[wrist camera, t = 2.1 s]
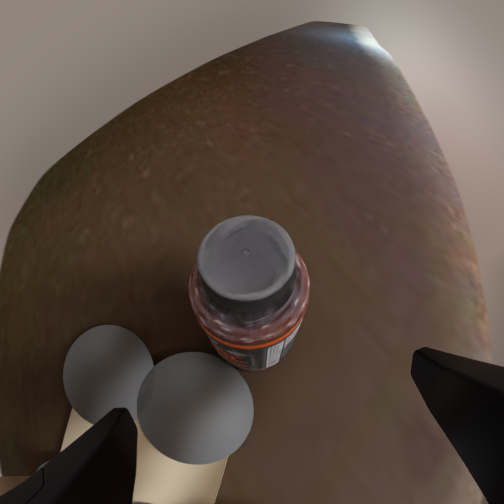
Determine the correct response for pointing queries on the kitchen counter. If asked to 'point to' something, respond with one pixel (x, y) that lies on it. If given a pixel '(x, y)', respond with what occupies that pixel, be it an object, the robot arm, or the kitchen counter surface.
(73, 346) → the board
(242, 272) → the supplement bottle
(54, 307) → the kitchen counter surface
